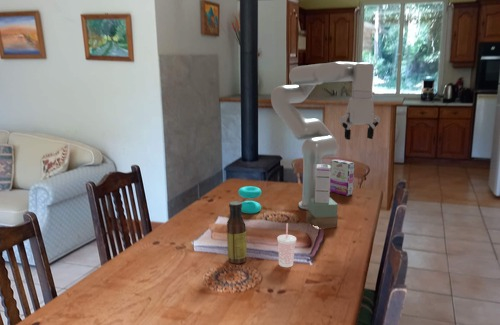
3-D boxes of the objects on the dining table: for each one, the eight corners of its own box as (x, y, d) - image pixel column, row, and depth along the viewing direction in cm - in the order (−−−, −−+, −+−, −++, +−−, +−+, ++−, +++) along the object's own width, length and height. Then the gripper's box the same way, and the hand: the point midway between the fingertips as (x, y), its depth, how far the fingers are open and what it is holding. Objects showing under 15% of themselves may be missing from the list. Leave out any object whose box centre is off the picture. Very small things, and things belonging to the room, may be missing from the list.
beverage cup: (283, 269, 138) (285, 228, 135) (272, 262, 143) (273, 222, 140) (299, 265, 141) (300, 224, 138) (287, 258, 146) (289, 218, 143)
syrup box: (329, 203, 172) (331, 167, 168) (314, 202, 173) (316, 167, 169) (329, 199, 177) (331, 164, 174) (314, 198, 178) (316, 163, 175)
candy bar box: (353, 194, 218) (355, 162, 214) (347, 196, 214) (349, 163, 210) (334, 189, 226) (336, 158, 222) (328, 191, 222) (330, 159, 218)
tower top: (308, 209, 180) (308, 197, 179) (329, 208, 181) (330, 197, 180) (314, 217, 171) (315, 205, 170) (336, 216, 173) (337, 204, 171)
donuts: (237, 191, 186) (239, 185, 196) (237, 213, 188) (239, 206, 198) (260, 192, 185) (262, 185, 195) (260, 214, 187) (261, 207, 197)
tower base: (306, 222, 180) (306, 210, 179) (324, 219, 183) (325, 208, 182) (317, 230, 172) (318, 218, 171) (337, 227, 175) (337, 215, 174)
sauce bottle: (249, 258, 146) (250, 201, 142) (242, 266, 141) (243, 207, 136) (231, 255, 148) (231, 198, 144) (224, 262, 143) (223, 204, 138)
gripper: (376, 94, 176) (373, 136, 180) (336, 94, 172) (334, 137, 176) (386, 95, 169) (383, 139, 173) (345, 96, 165) (342, 141, 169)
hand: (358, 138), depth 174 cm, fingers open, 9 cm apart
